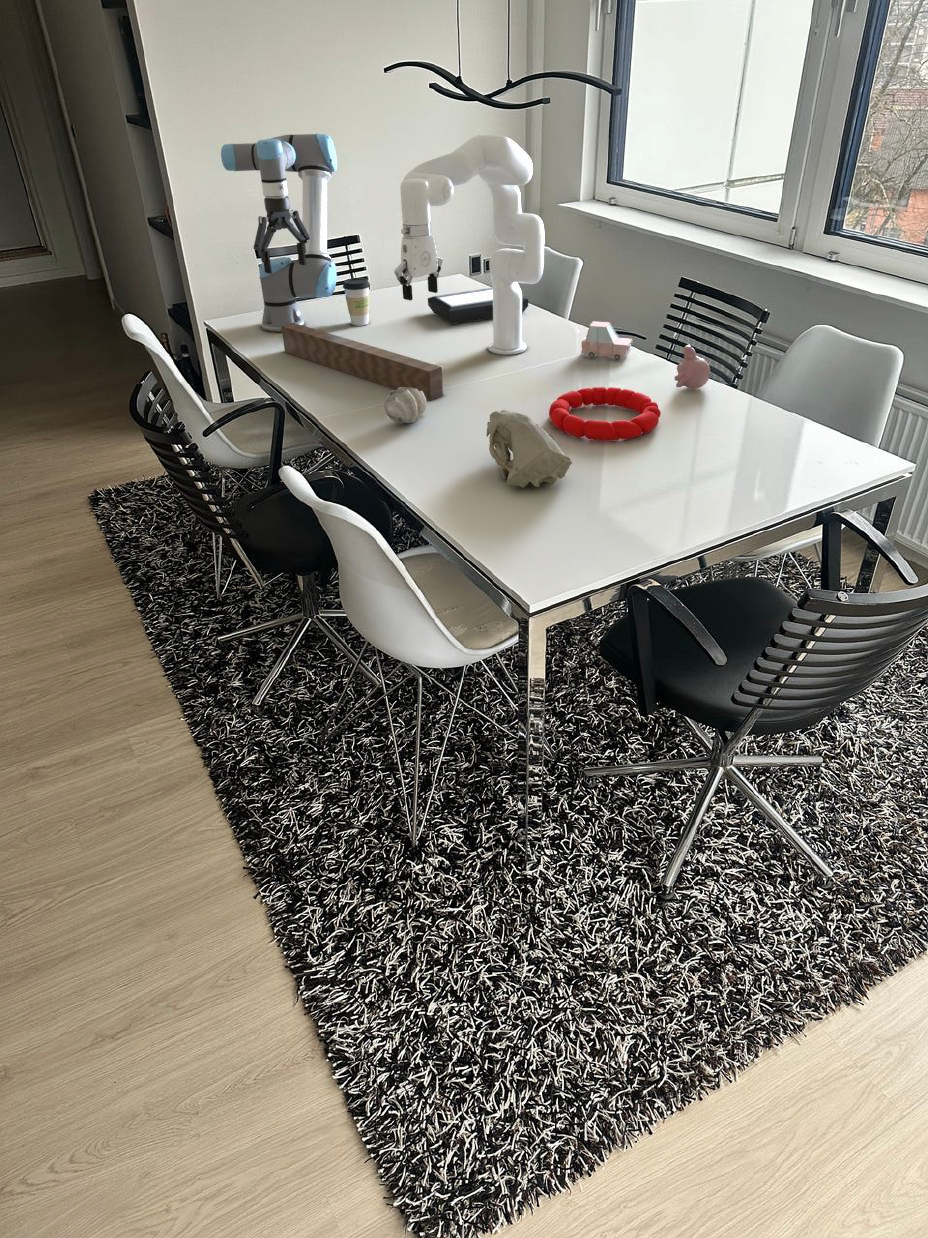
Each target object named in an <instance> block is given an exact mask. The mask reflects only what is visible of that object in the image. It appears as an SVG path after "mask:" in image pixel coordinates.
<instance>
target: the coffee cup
mask: <svg viewBox="0 0 928 1238" xmlns="http://www.w3.org/2000/svg"><path fill="white" fill-rule="evenodd" d="M370 287H371V283H370V282H369V279H367V278H365V277H351V278H347V279H345V280H344V281H343V285H342V288H343V290H344V297H345V301H346V305H347V310H348V314H349V318H350V323H351V325H353V326H357V327H359V326H365V325H368V324H369V317H370V316H369V313H370Z"/></svg>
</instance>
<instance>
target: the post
mask: <svg viewBox="0 0 928 1238" xmlns="http://www.w3.org/2000/svg"><path fill="white" fill-rule="evenodd" d="M281 328H282V332H281V334H282V342H283V347H284V348H283V349H284V353H286V354H289V355H292V356H296V357H299V358H302V359H305V360H308V361H311V362H314V363H317V364H319V365H323V366H326V367H327V368H328V367H329V368H332V369H335V370H338V371H341V372H344V373H347V374H350V375H351V376H352V375H353V376H356V377H359V378H361V379H364V380H368V381H370V382H374V383H377V384H380V385H383V386H386V387H389V388H392V389H394V390H397V389H398V388H399V387H401V388H402V387H408V388H417V390H418V391H423V393H424V396H425V398H426V401H427V400H428V401H433V400H436V399H439V398H442V397H443V396H444V389H443V388H444V387H443V384H444V383H443V367H442V366H440V365H437V364H433V363H429V362H427V361H423V360H420V359H418V358H417V359H416V358H414V357H410V356H407V355H403V354H400V353H396V352H393V351H390V350H386V349H383V348H380V347H376V346H372V345H370V344H366V343H363V342H359V341H356V340H353V339H350V338H347V337H343V336H340V335H337V334H334V333H329V332H326V331H323V330H319V329H316V328H312V327H311V326H310V327H309V326H306V325H304V326H303V325H300V324H296V323H290V324H287V325H283V326H281Z"/></svg>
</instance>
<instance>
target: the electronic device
mask: <svg viewBox="0 0 928 1238" xmlns="http://www.w3.org/2000/svg"><path fill="white" fill-rule="evenodd" d="M427 307H429V308H430V310H431V311H432V312H433V314H434V315H436V316H437V317H439V318H441V319H442V320H444V321H445V322H447V323H449V324H450V325H456V324H463V323H469V322H475V321H477V322H478V321H483V320H489V319H493V288H492V287H488V288H482V289H481V288H480V289H474V290H468V291H460V292H454V293H453V292H452V293H448V294H441V295H435V296H429V297H428V298H427ZM528 307H529V298H527V297H526V296H524V295H522V314H524V312H525V311H526V310H527V308H528Z"/></svg>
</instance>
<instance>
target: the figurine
mask: <svg viewBox="0 0 928 1238" xmlns="http://www.w3.org/2000/svg"><path fill="white" fill-rule="evenodd" d="M682 354H683V358H684V359H683V361H682V362H679V363H678V364H677V365H676V372H677V375H675V376H674V381H675V382H676V381H677V382H676V384H675V386H676V388H681V387H686V388H688V389H693V390H694V389H695V390H696V389H700V388H703V387H704V386H705V385H706V384H707V383H708V382H709V379H710V377H711V367H710V364H709V362H708V361H706V359H704V358H702V357H700V356H697V353H696V350H695V349H694V347H692V345H690V344H686V345H685V346H684V347H683V348H682Z"/></svg>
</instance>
